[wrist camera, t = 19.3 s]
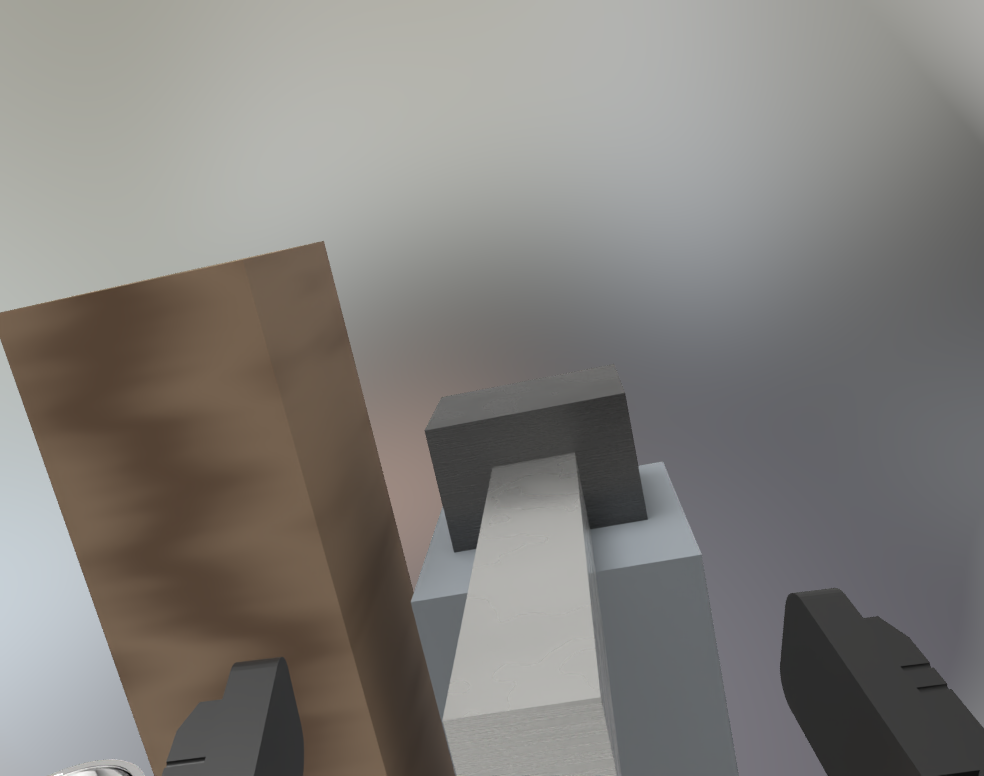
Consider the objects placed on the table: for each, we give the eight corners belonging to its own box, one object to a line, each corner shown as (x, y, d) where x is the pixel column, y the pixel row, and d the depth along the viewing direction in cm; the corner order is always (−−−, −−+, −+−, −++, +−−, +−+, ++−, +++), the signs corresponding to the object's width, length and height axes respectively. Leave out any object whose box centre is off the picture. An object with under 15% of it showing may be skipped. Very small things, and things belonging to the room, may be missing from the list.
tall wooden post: (307, 1209, 28) (-9, 314, 21) (357, 998, 36) (134, 282, 29) (503, 1194, 28) (242, 259, 21) (513, 982, 35) (323, 240, 28)
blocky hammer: (373, 865, 14) (311, 652, 13) (466, 504, 29) (441, 397, 28) (739, 819, 13) (700, 591, 12) (634, 474, 28) (614, 363, 27)
